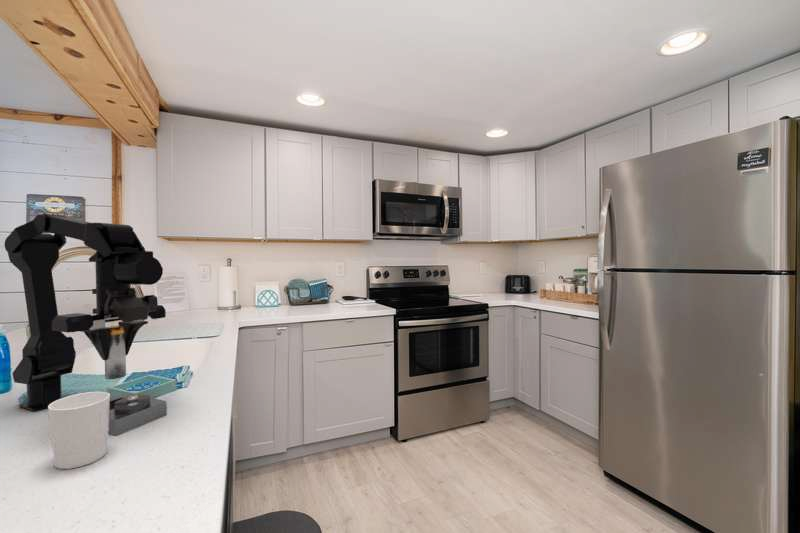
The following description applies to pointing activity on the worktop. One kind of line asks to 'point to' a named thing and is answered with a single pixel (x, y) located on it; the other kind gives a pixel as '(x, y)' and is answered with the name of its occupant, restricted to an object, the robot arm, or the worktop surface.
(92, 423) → the white cup
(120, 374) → the grey orange-capped bottle
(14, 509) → the worktop surface
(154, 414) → the tensioner block
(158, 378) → the tray
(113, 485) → the worktop surface
